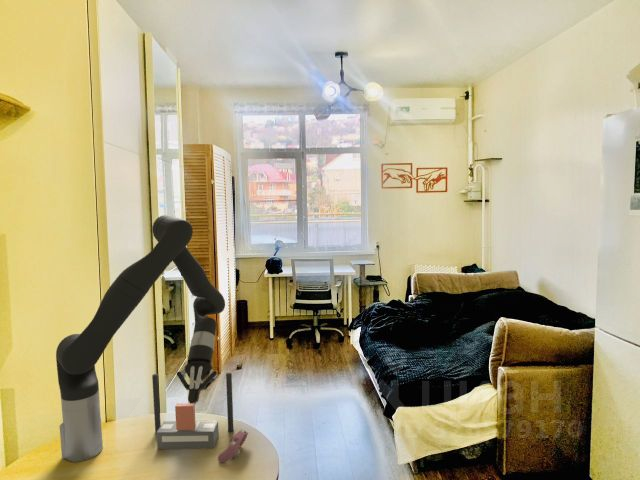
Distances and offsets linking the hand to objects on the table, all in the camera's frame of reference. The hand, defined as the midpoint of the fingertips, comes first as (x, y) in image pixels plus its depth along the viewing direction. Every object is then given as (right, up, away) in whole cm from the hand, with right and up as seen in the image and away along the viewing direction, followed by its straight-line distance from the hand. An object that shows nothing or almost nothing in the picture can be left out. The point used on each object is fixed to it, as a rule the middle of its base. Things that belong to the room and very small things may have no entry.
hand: (192, 403), depth 130 cm
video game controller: (+14, -11, -9) cm, 20 cm away
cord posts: (0, -9, +2) cm, 10 cm away
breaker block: (0, -10, -4) cm, 11 cm away
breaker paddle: (0, -5, -6) cm, 8 cm away
